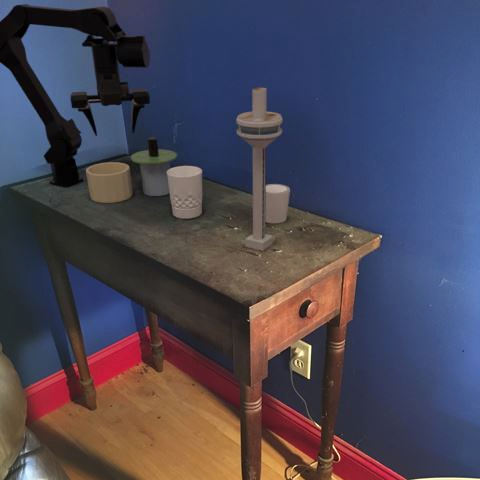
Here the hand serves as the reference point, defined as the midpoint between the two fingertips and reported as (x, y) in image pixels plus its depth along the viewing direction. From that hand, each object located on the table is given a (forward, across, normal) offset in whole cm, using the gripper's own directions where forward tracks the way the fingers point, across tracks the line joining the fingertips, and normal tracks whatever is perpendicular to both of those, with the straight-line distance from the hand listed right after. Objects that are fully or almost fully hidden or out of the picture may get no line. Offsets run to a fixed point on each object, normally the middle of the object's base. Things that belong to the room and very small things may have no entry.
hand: (114, 134), depth 142 cm
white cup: (+13, +14, -26) cm, 32 cm away
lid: (+4, +9, -8) cm, 13 cm away
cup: (+13, +9, -8) cm, 18 cm away
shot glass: (+13, +32, -34) cm, 49 cm away
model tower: (+13, +25, -47) cm, 55 cm away
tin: (+13, -3, -8) cm, 16 cm away
